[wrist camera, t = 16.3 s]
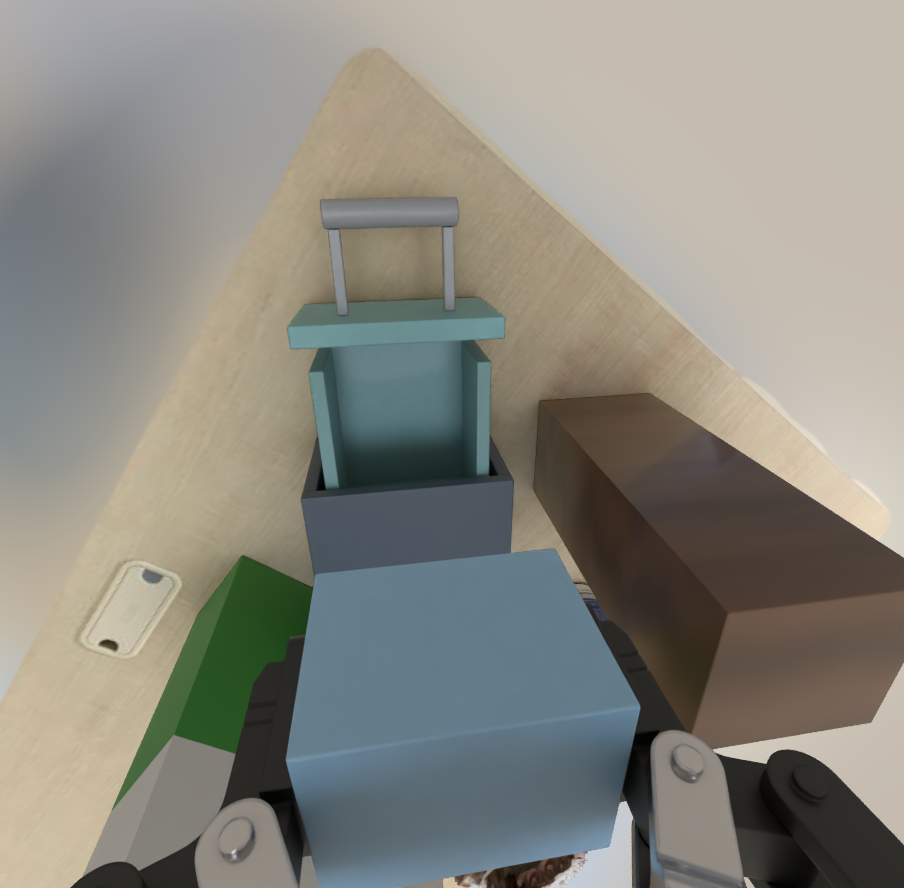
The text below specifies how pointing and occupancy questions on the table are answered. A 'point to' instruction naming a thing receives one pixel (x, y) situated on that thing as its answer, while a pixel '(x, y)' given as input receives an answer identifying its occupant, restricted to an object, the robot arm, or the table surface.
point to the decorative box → (527, 874)
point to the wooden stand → (721, 572)
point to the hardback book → (205, 720)
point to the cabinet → (407, 519)
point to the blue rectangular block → (455, 721)
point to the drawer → (398, 364)
